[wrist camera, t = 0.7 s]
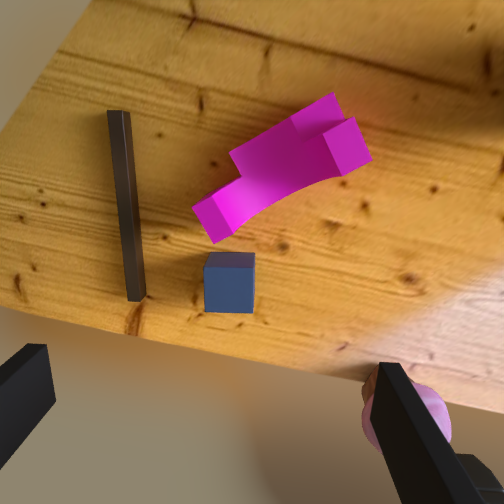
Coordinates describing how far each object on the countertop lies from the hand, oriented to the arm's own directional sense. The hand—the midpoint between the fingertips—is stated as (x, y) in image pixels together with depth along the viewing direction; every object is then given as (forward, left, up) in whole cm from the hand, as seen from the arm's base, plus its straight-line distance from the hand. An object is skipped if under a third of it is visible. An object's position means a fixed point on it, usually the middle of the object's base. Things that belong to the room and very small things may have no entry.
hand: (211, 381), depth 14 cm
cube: (+5, -1, -25) cm, 26 cm away
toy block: (-7, +3, -25) cm, 26 cm away
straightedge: (-2, -12, -25) cm, 28 cm away
